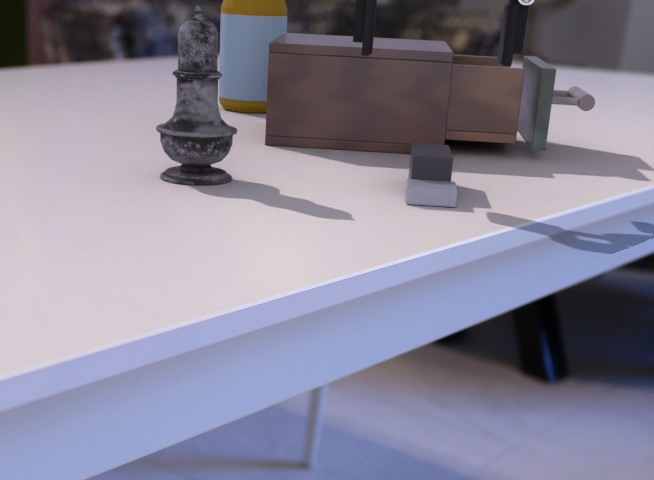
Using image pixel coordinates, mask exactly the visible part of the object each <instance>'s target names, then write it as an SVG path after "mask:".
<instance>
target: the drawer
mask: <svg viewBox="0 0 654 480" xmlns="http://www.w3.org/2000/svg"><path fill="white" fill-rule="evenodd" d="M497 59H498V56H489V55H488V56H485V55H469V54H468V55H466V54H454V56H453V62H452V63H453V66H452V76H451V85H450V95H449V105H448V115H447V125H446V135H445V141H446V140H448V141H460V142H461V141H462V142H463V141H464V142H479V143H494V144H495V143H498V144H510V145H511V144H513V145H515V144H516V143H517V136H518V134H519V135H520V136H521V138H522V139H523V140H524V141H525V142H526V144H527V145H528V147H529V148H530V149H531V150H533V151H546V149H547V142H548V134H549V128H550V127H549V126H550V121H551V111H552V105H559V106H560V105H561V106H576V107H577V108H578V109H580V110H581V111H583V112H589V111H591V110H592V109H594V107H595V105H596V99H595V97H594V96H593V95H591V94H590V93H588V92H586V91H585V90H584V89H582V88H580V87H579V86H571V87H569V88H568V89H567V90H565V89H563V90H562V89H555V83H556V75H557V68H555V67H554V66H552V65H551V64H549V63H547V62H546V61H544V60H543V59H541V58H540V57H538V56H537V55H535V56H534V55H523V59H522V66H521V67H512V66H503V65H502V64H500V63H499V62H498V61H497Z"/></svg>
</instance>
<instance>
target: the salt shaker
mask: <svg viewBox="0 0 654 480" xmlns="http://www.w3.org/2000/svg"><path fill="white" fill-rule="evenodd" d="M193 12H194V16H192V17H191V18H190V19H188V20H185V21H184V22H182V23H181V24H180V26H179V27H178V31H177V32H178V33H177V69H175V70H174V71H172V73H171V74H172V75H173V76H175V78H176V102H175V106H174V111H173V114H172V116H171V117H170V118H169V119H168V120H167V121H166V122H164V123H160V124H157V125H156V127H155V130H156V132H158V133H159V137H160V139H159V140H160V145H161V147H162V149H163V152H164V153H165V155H167V156H168V158H169V159H170V160H172V161H173V162H176V163H178V164H180V165H175V166H170V167H168V168H166V169H165V170H164V171H162V172H160V174H159V178H160V179H161V180H163V181H165V182H169V183H174V184H179V185H189V186H190V185H191V186H195V185H196V186H212V185H220V184H226V183H229V182H232V180H233V176H232V175H231V174H230V173H228V172H227V171H226V170H225V169H223V168H221V167H215V166H213V165H214V164H217V163H220V162H222V161H223V160H224V159H225V158H226V157H227V156H228V155H229V153H230V151H231V148H232V146H233V140H234V139H233V137H234V135H236V134H237V133H238V128H236V127H235V126H232V125H229V124H227V123H226V122H225V120H224V119H223V118H222V115H221V112H220V107H219V79H220V77H222V76H223V74H222V73H220V72H219V70H218V55H219V32H218V28H217V26H216V25H215V24H214V23H213V22H212V21H210V20H207V18H205V17H203V14H202V13H203V12H204V10H203V8H202V7H201V5H200V4H197V5H196V6H195V9H194V10H193Z"/></svg>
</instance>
